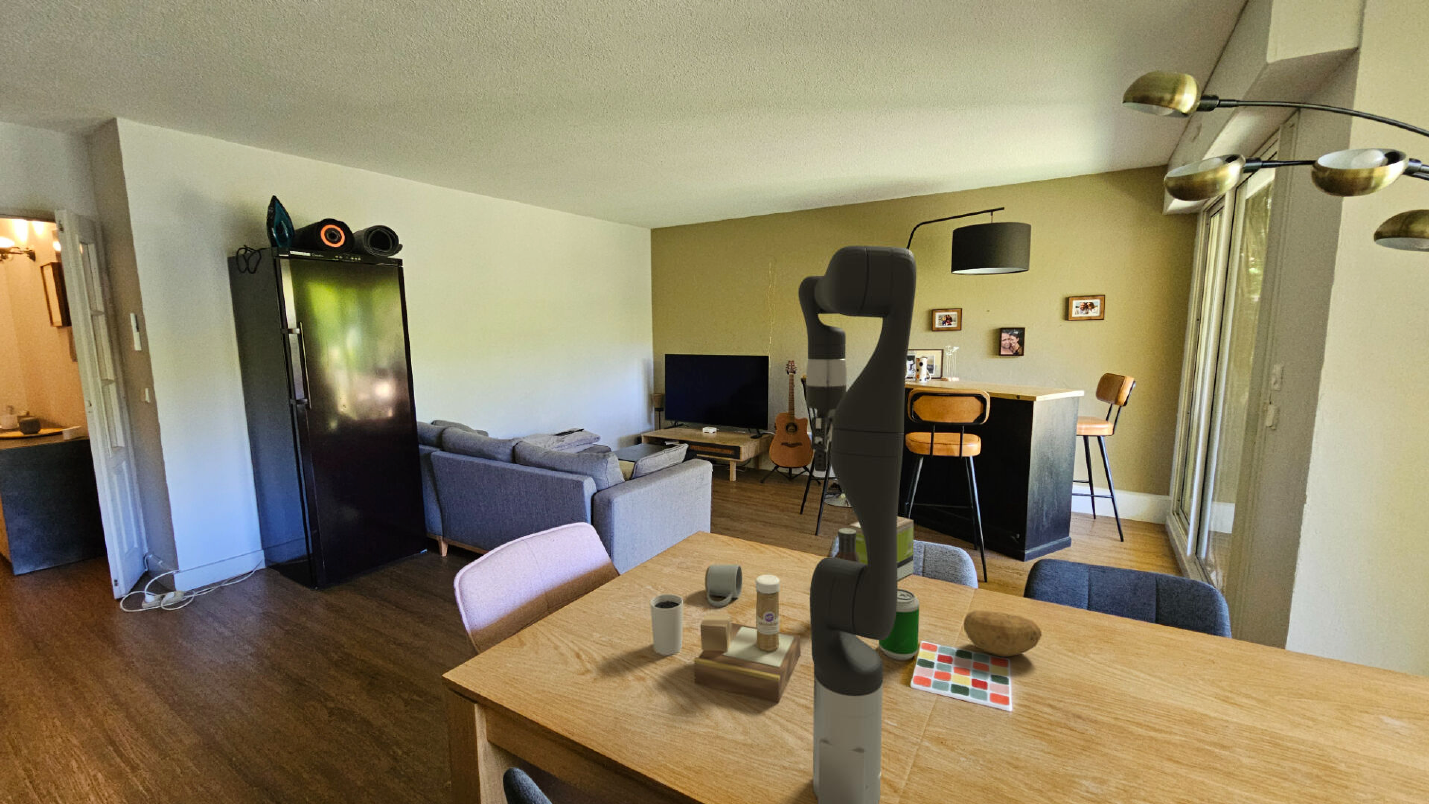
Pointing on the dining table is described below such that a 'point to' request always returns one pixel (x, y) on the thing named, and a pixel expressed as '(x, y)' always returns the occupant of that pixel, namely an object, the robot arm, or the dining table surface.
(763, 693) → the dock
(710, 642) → the wooden cube
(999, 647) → the potato
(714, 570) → the ceramic mug
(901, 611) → the soda can
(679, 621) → the white cup
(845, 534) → the sauce bottle
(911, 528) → the tea box
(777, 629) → the sprinkles bottle
